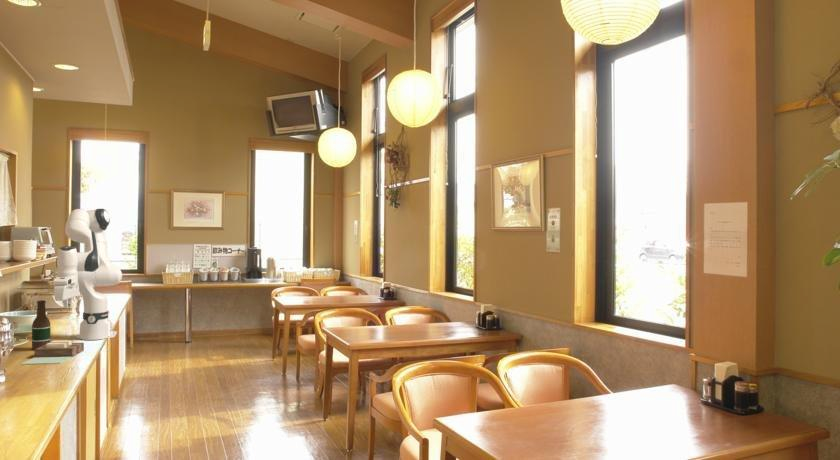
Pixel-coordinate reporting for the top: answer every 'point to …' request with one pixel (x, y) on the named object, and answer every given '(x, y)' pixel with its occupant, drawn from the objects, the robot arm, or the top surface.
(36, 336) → the beer bottle
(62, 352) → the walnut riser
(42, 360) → the rubber mat
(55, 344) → the birch tile
